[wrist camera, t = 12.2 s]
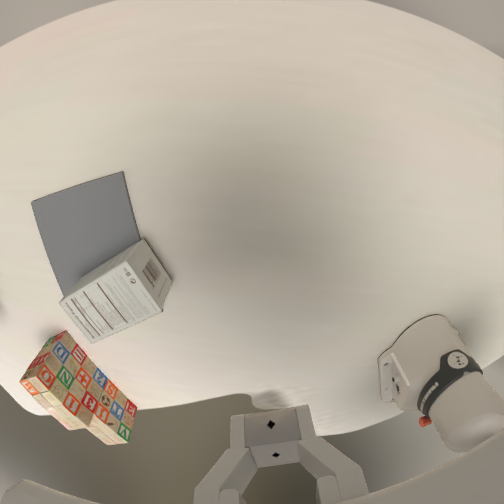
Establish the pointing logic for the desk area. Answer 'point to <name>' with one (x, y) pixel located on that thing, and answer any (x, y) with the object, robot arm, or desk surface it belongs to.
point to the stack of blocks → (78, 391)
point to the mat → (85, 227)
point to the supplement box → (118, 293)
